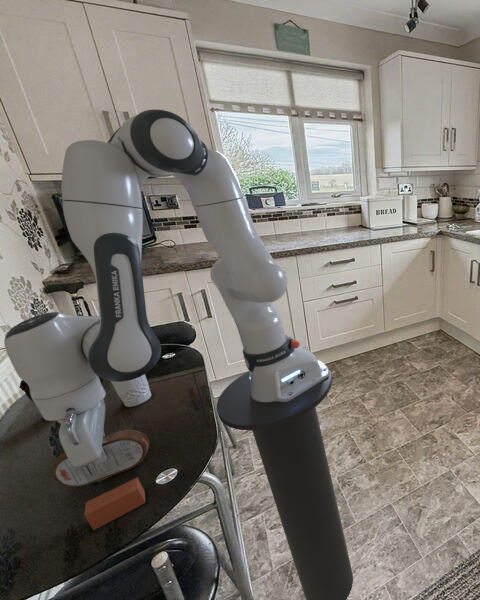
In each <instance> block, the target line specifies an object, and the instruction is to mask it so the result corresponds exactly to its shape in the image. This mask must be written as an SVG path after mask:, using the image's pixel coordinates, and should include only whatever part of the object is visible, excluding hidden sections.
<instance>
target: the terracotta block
mask: <svg viewBox="0 0 480 600" xmlns="http://www.w3.org/2000/svg"><path fill="white" fill-rule="evenodd" d="M144 504H146V491H145V489H144V487H143V486H142V483H141V481H140V479H139V477H135V478H133V479H131V480H129V481H127V482H125V483H123V484H121V485H119V486H117V487H115V488H113V489H110V490H109V491H107V492H104V493H102V494H101V495H98V496H96V497H94V498H92V499H90V500H88V501H86V502H85V507H84V515H83V516H84V518H85V519H86V522H88V524H89V525H90V527H91V529H92V531H96V530H97V529H99V528H101V527H103V526H105V525H107V524H108V523H110V522H112V521H114V520H116V519H118V518H120V517H121V516H123V515H125V514H127V513H129V512H131V511H133V510H135V509H137V508H139V507H140V506H143V505H144Z"/></svg>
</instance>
